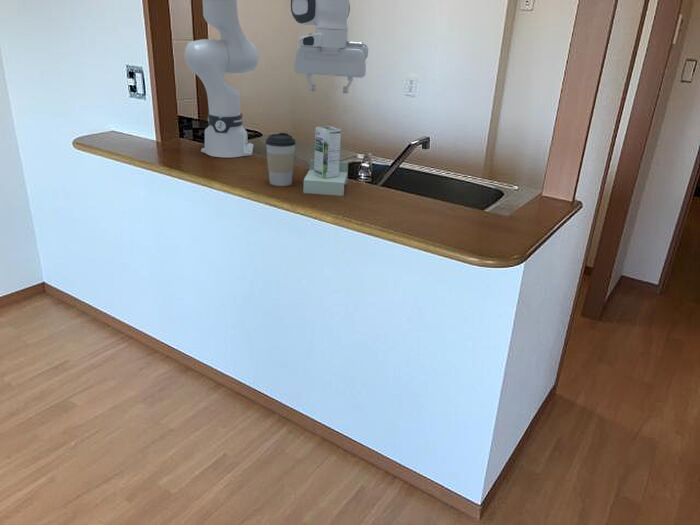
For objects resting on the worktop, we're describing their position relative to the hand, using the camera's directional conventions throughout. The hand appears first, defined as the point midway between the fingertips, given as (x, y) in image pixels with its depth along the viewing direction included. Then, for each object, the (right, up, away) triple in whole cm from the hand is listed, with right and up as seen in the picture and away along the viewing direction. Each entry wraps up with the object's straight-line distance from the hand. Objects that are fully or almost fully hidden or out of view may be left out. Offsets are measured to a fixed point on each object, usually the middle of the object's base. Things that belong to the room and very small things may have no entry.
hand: (329, 91), depth 159 cm
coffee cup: (-16, -24, +15) cm, 33 cm away
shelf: (-1, -26, +12) cm, 29 cm away
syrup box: (-1, -22, +11) cm, 25 cm away
